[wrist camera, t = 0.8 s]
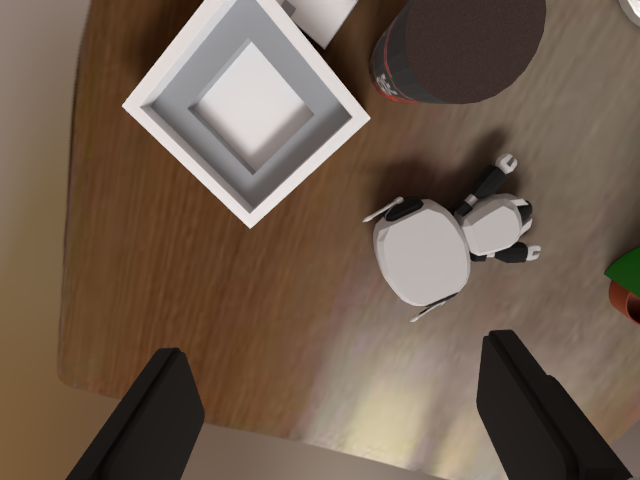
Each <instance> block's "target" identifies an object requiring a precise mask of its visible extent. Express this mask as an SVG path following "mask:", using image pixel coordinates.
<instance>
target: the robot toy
mask: <svg viewBox="0 0 640 480" xmlns="http://www.w3.org/2000/svg"><path fill="white" fill-rule="evenodd" d="M512 157H513V156H512V155H511V154H509V153H504V154H503V155H502V156H500V157H499V158H497V161H496V163H495V166H492V165H488V166H487V167H486V168H485V169H484V170H483V171H482V172H481V173H480V174H479V175H478V176H477V177H476V179H475V180H474V182H473V186H472V189H471V194H470V195H469V196H468V197H467V198H466V199H465V200H458V202H457V203H456V204H455V205H454V206H453V207H452V209H453V210H454V211H455V213H454V216H452V215H451V213H450V212H448V211H447V210H446V209H445V208H444V207H442V206H441V205H439V204H438V203H436V202H434V201H432V200H430V199H422V200H420V199H419V198H418V197H406V198H402V197H398V198H396V199H395V200H394V202H392V203H391V204H389V205H387V206H386V207H384V208H382V209H380V210H379V211H377V212H375V213H374V214H372V215H369V216H367V217H366V218H365V219H364V220H363V222H366V221H369V220H371V219H372V218H373V217H375V216H376V215H378V214H380V213H381V212H383V211H384V212H383V217H382V218H381V219H380V220H379V222H378V223H377V224H376V225H375V229H374V233H373V243H374V250H375V254H376V257H377V261H378V264H379V268H380V270H381V272H382V274H383V276H384V278H385V279H386V281H387V282H388V283H389V285H390V286H391V288H392V289H393V290H394V292H395V293H396V294H397V295H398V296H399V297H400V298H401V299H402V300H404V301H405V302H407V303H409V304H411V305H413V306H426V307H428V306H430V307H428V308H427V309H425V310H424V311H422V312H421V313H419V314H418V315H415V316H413V317H412V318H411V320H410V322H411V321H416V320H417V319H418V318H419V317H421V316H422V315H424V314H425V313H427V312H428V311H430V310H432V309H433V308H435V307H436V306H438V305H439V304H440V305H442V304H444V303H445V301H446V300H449V299H450V298H452V297H454V296H455V295H456V294H457V293H458V292H459V291H460V290H461V289H462V288H463V286H464V285H465V284H466V282H467V280H468V277H469V274H470V259H471V260H472V261H474V262H477V261H485V260H486V258H487V257H494V258H496V259H499V260H501V261H503V262H506V263H519V262H525V261H526V260H534V259H537V258H538V256H539V253H538V252H533V251H540V249H541V248H540V246H539V245H538V244H536V243H528V244H526V245H525V244H524V243H522V242H517V240H518V239H519V237H520V236H521V235H522V234H523V233H524V232H525V231H527V230H528V229H529V228H530V227H531V223H532V219H533V218H531V217H529V216H530V214H531V213H532V205H531V203H530V202H528V201H526V200H523V199H521V198H519V197H516V196H514V195H511V194H509V193H505V194H494V193H495V192H496V191H497V190H498V189H499V188H500V187H501V186H502V185H503V184H504V183H505V182H506V181H507V180H508V178H507V176H506V175H505V174H507V173H509V172H511V171H513V170H514V168H515V167H516V165H517V160H516V159H515V158H512ZM510 159H511V160H510ZM509 160H510V161H509Z"/></svg>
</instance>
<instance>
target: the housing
mask: <svg viewBox="0 0 640 480" xmlns="http://www.w3.org/2000/svg"><path fill="white" fill-rule="evenodd" d="M122 107H123V108H124V109H125V110H126V111H128V112H129V113H130V114H131V115H132V116H133V117H134V118H135V119H136V120H137V121H138V122H139V123H140V124H141V125H142V126H143V127H144V128H145V129H146V130H147V131H148V132H149V133H151V134H152V135H153V136H154V137H155V138H156V139H157V140H158V141H159V142H160V143H161V144H162V145H163V146H164V147H165V148H166V149H167V150H168V151H169V152H170V153H171V154H172V155H174V156H175V157H176V158H177V159H178V160H179V161H180V162H181V163H182V164H183V165H184V166H185V167H186V168H187V169H188V170H189V171H190V172H191V173H192V174H193V175H194V176H195V177H197V178H198V179H199V180H200V181H201V182H202V183H203V184H204V185H205V186H206V187H207V188H208V189H209V190H210V191H211V192H212V193H213V194H214V195H215V196H216V197H217V198H218V199H220V200H221V201H222V202H223V203H224V204H225V205H226V206H227V207H228V208H229V209H230V210H231V211H232V212H233V213H234V214H235V215H236V216H237V217H238V218H239V219H240V220H242V221H243V222H244V223H245V224H246V225H247V226H248V227H249V228H250V229H251V228H252V227H253V226H254V225H255V224H256V223H257V222H258V221H259V220H261V219H262V218H263V217H264V216H265V215H266V214H267V213H268V212H269V211H270V210H271V209H272V208H274V207H275V206H276V205H277V204H278V203H279V202H280V201H281V200H282V199H283V198H284V197H286V196H287V195H288V194H289V193H290V192H291V191H292V190H293V189H294V188H295V187H296V186H298V185H299V184H300V183H301V182H302V181H303V180H304V179H305V178H306V177H307V176H308V175H310V174H311V173H312V172H313V171H314V170H315V169H316V168H317V167H318V166H319V165H320V164H322V163H323V162H324V161H325V160H326V159H327V158H328V157H329V156H330V155H331V154H332V153H334V152H335V151H336V150H337V149H338V148H339V147H340V146H341V145H342V144H343V143H344V142H346V141H347V140H348V139H349V138H350V137H351V136H352V135H353V134H354V133H355V132H356V131H358V130H359V129H360V128H361V127H362V126H363V125H364V124H365V123H366V122H367V121H368V120H370V119H371V118H370V117H369V116H368V114H367V113H366V112H365V111H364V109H363V108H362V107H361V106H360V104H359V103H358V102H357V101H356V99H355V98H354V97H353V96H352V94H351V93H350V92H349V91H348V89H347V88H346V87H345V86H344V84H343V83H342V82H341V81H340V80H339V78H338V77H337V76H336V75H335V73H334V72H333V71H332V70H331V68H330V67H329V66H328V65H327V63H326V62H325V61H324V60H323V58H322V57H321V56H320V55H319V53H318V52H317V51H316V50H315V48H314V47H313V46H312V45H311V43H310V42H309V41H308V40H307V39H306V37H305V36H304V35H303V34H302V32H301V31H300V30H299V29H298V27H297V26H296V25H295V24H294V22H293V21H292V20H291V19H290V17H289V16H288V15H287V14H286V12H285V11H284V10H283V9H282V7H281V6H280V5H279V4H278V3H277V1H276V0H204V2H203V3H202V4H201V5H200V7H199V8H198V9H197V11H196V12H195V13H194V14H193V16H192V17H191V18H190V19H189V21H188V22H187V23H186V25H185V26H184V27H183V28H182V30H181V31H180V32H179V34H178V35H177V36H176V37H175V39H174V40H173V41H172V42H171V44H170V45H169V46H168V48H167V49H166V50H165V51H164V53H163V54H162V55H161V57H160V58H159V59H158V60H157V62H156V63H155V64H154V65H153V67H152V68H151V69H150V71H149V72H148V73H147V74H146V76H145V77H144V78H143V80H142V81H141V82H140V83H139V85H138V86H137V87H136V88H135V90H134V91H133V92H132V94H131V95H130V96H129V97H128V99H127V100H126V101H125V103H124V104H123V105H122Z"/></svg>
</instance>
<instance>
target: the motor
mask: <svg viewBox="0 0 640 480" xmlns="http://www.w3.org/2000/svg"><path fill="white" fill-rule="evenodd" d="M605 275H606V276H608V277H609V278H611V279H612V280H613V281H612V283H611V285H610V289H609V298H610V301H611V303H612V305H613V306H614V307H615V308H616V309H617V310H618V311H620V312H621V313H622V314H624V315H625V316H626V317H628V318H629V319H630V320H632V321H633V322H634V323H636V324H638V325H640V247H638V248H636V249H634V250H632V251H630V252H628V253H627V254H625V255H624V256H622V257H621V258H619V259H618V260H617V261H616V262H615V263H613V264H612V265H611V266H610V268H609V269H608V270H607V271H606V272H605Z"/></svg>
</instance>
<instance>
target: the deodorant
mask: <svg viewBox="0 0 640 480" xmlns="http://www.w3.org/2000/svg"><path fill="white" fill-rule="evenodd" d="M545 17H546V2H545V0H409V1H408V2H407V4H406V5H405V6H404V7H403V9H402V10H401V11H400V13H399V14H398V15H397V16H396V18H395V19H394V20H393V22H392V23H391V24H390V26H389V27H388V28H387V29H386V31H385V32H384V33H383V35H382V36H381V37H380V38H379V40H378V41H377V42H376V44H375V46H374V48H373V50H372V53H371V57H370V62H369V71H370V77H371V80H372V83H373V85H374V87H375V88H376V90H377V91H378V92H379V93H380V94H381V95H382V96H383V97H384V98H386V99H388V100H390V101H395V102H403V103H439V104H467V103H476V102H480V101H482V100H485V99H488V98H490V97H493V96H495V95H497V94H498V93H500V92H501V91H503V90H504V89H506V88H507V87H509V86H510V85H511V84H512V83H513V82H514V81H515V80H516V79H517V78H518V77H519V76H520V75H521V74H522V73H523V72H524V71H525V69H526V68H527V66H528V64H529V63H530V61H531V60H532V58H533V56H534V55H535V53H536V51H537V48H538V46H539V43H540V40H541V37H542V35H543V32H544V24H545Z"/></svg>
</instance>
